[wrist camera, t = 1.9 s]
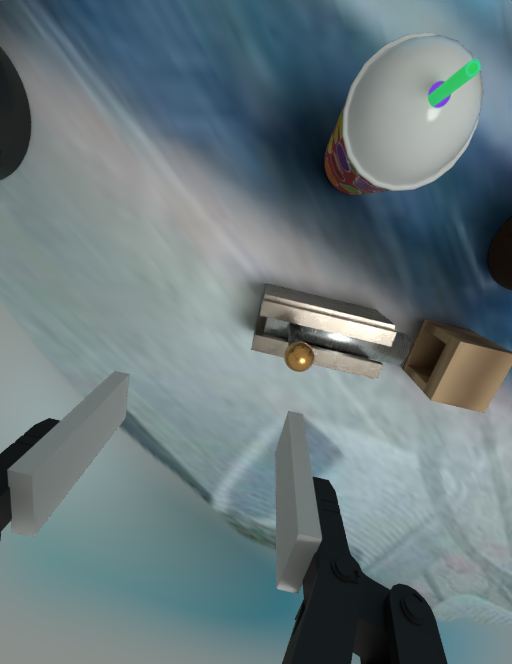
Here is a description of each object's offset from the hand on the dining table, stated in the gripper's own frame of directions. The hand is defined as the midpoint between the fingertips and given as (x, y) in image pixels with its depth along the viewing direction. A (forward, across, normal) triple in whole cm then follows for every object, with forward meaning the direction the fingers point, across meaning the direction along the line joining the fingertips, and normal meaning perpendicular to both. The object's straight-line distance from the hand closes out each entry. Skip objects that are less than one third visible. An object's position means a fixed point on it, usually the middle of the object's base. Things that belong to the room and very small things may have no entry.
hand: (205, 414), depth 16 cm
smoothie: (+24, +8, +18) cm, 31 cm away
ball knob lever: (+22, +11, 0) cm, 25 cm away
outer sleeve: (+23, +9, 0) cm, 25 cm away
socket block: (+23, +25, 0) cm, 34 cm away
